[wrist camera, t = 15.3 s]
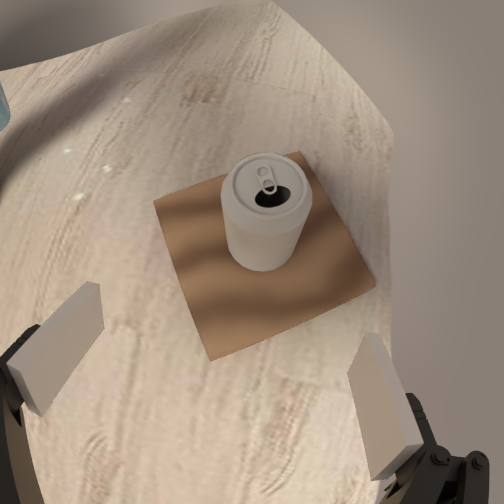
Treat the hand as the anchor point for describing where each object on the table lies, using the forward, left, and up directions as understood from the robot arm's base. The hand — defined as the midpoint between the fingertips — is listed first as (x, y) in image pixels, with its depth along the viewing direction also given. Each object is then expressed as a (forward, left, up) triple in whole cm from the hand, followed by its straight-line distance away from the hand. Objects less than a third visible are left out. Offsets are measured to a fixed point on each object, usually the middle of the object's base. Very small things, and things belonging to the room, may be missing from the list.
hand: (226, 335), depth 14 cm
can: (-10, +7, -17) cm, 21 cm away
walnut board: (-10, +7, -18) cm, 22 cm away
